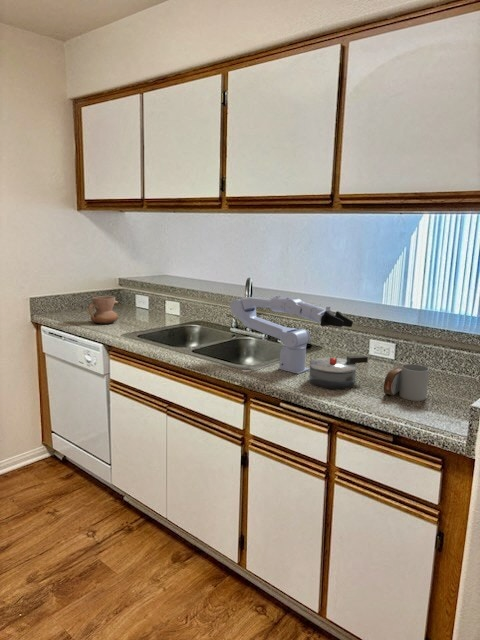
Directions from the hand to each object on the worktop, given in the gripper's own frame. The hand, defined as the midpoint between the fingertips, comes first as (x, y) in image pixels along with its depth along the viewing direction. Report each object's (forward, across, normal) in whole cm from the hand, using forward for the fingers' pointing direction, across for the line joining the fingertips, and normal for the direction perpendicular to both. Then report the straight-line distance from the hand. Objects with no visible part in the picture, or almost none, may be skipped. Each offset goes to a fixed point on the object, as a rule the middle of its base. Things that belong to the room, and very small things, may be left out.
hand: (347, 324), depth 172 cm
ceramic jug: (-140, +8, +43) cm, 147 cm away
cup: (+28, +4, +17) cm, 33 cm away
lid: (+1, 0, +15) cm, 15 cm away
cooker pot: (+1, +2, +21) cm, 21 cm away
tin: (+22, +5, +18) cm, 28 cm away
